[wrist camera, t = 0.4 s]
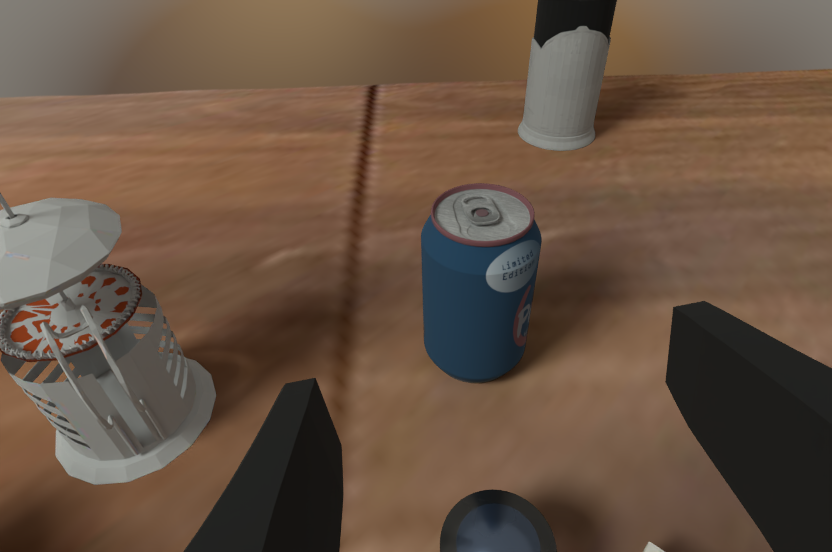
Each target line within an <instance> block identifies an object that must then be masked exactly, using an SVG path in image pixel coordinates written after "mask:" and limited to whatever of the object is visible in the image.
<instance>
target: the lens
mask: <svg viewBox="0 0 832 552" xmlns="http://www.w3.org/2000/svg"><path fill="white" fill-rule="evenodd" d="M440 552H557V549H556V543H555V539H554V536H553V533H552V530H551V528H550V526H549V524H548V523H547V521H546V520H545V518H544V517H543V515H542V514H541V513H540V512H539V511H538V510H537V509H536V508H535V507H534V506H533V505H532V504H531V503H529V502H528V501H527V500H525V499H523V498H522V497H520V496H518V495H515V494H513V493H510V492H507V491H502V490H484V491H479V492H476V493H473V494H471V495H468V496H466V497H465V498H463V499H462V500H460V501H459V502H458V503H457V504H456V505H455V506H454V507H453V508H452V510H451V511H450V512H449V514H448V515H447V517H446V519H445V522H444V524H443V527H442V531H441V537H440Z"/></svg>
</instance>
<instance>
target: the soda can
mask: <svg viewBox="0 0 832 552" xmlns="http://www.w3.org/2000/svg"><path fill="white" fill-rule="evenodd" d="M421 248H422V284H423V321H424V344H425V348H426V351H427V353H428V355H429V357H430V358H431V359H432V361H433V362H434V363H435V364H436V365H437V366H438V367H439V368H440V369H441V370H443V371H444V372H445V373H447V374H448V375H449V376H451V377H453V378H455V379H457V380H460V381H463V382H468V383H483V382H488V381H492V380H494V379H496V378H498V377H500V376H502V375H504V374H505V373H507V372H508V371H510V370H511V369H512V368H513V367H514V366H515V365H516V364H517V363H518V362H519V361H520V359H521V357H522V355H523V353H524V350H525V345H526V338H527V332H528V325H529V319H530V313H531V306H532V300H533V293H534V287H535V280H536V274H537V268H538V261H539V255H540V248H541V234H540V231H539V228H538V226H537V224H536V222H535V220H534V209H533V207H532V205H531V203H530V202H529V201H528V200H527V199H526V198H525V197H524V196H523V195H521V194H520V193H518V192H516V191H514V190H512V189H509V188H506V187H503V186H499V185H494V184H482V183H479V184H467V185H462V186H458V187H455V188H452V189H450V190H448V191H446V192H444V193H443V194H441V195H440V196H439V197H438V198H437V199H436V200H435V201H434V203H433V205H432V208H431V215H430V216H429V218H428V220H427V221H426V223H425V225H424V227H423V229H422V234H421Z"/></svg>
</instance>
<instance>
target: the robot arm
mask: <svg viewBox="0 0 832 552" xmlns="http://www.w3.org/2000/svg"><path fill="white" fill-rule="evenodd" d="M666 384H667V386H668V388H669V390H670V392H671V394H672V396H673V398H674V400H675V402H676V404H677V406H678V408H679V410H680V412H681V413H682V415H683V417H684V419H685V421H686V423H687V425H688V426H689V428H690V430H691V431H692V433H693V434H694V436H695V437H696V439H697V440H698V442H699V443H700V444H701V446H702V447H703V449H704V450H705V452H706V453H707V455H708V456H709V458H710V459H711V460H712V462H713V463H714V465H715V466H716V468H717V469H718V471H719V472H720V473H721V475H722V476H723V478H724V479H725V481H726V482H727V483H728V485H729V486H730V488H731V489H732V491H733V492H734V493H735V495H736V496H737V498H738V499H739V501H740V502H741V504H742V505H743V506H744V508H745V509H746V511H747V512H748V514H749V515H750V516H751V518H752V519H753V521H754V522H755V524H756V525H757V526H758V528H759V529H760V531H761V532H762V534H763V535H764V537H765V539H766V540H767V542H768V543H769V545H770V546H771V548H772V549H773V551H774V552H832V368H830V367H828V366H826V365H824V364H822V363H820V362H818V361H816V360H814V359H812V358H810V357H808V356H807V355H805V354H803V353H801V352H799V351H797V350H795V349H793V348H791V347H789V346H788V345H786V344H784V343H782V342H780V341H778V340H776V339H775V338H773V337H771V336H769V335H767V334H765V333H764V332H762V331H760V330H758V329H756V328H754V327H753V326H751V325H749V324H747V323H745V322H743V321H742V320H740V319H738V318H736V317H734V316H732V315H731V314H729V313H727V312H725V311H723V310H721V309H719V308H717V307H716V306H714V305H712V304H710V303H708V302H705V301H702V302H696V303H691V304H686V305H681V306H676V307H673V316H672V326H671V335H670V345H669V354H668V364H667V373H666ZM342 508H343V468H342V447H341V443H340V440H339V438H338V435H337V433H336V430H335V427H334V425H333V422H332V420H331V417H330V414H329V412H328V409H327V407H326V404H325V401H324V399H323V396H322V394H321V391H320V389H319V386H318V383H317V381H316V378H312V379H307V380H302V381H297V382H292V383H286V384H285V385H284V387H283V388H282V390H281V392H280V393H279V395H278V397H277V399H276V401H275V403H274V405H273V407H272V408H271V410H270V412H269V414H268V416H267V418H266V420H265V422H264V423H263V425H262V427H261V429H260V431H259V432H258V434H257V436H256V438H255V440H254V442H253V443H252V445H251V447H250V449H249V450H248V452H247V454H246V455H245V457H244V459H243V460H242V462H241V464H240V466H239V467H238V469H237V471H236V472H235V474H234V476H233V478H232V479H231V481H230V483H229V484H228V486H227V487H226V489H225V490H224V492H223V494H222V495H221V497H220V498H219V500H218V501H217V503H216V504H215V506H214V507H213V509H212V511H211V512H210V514H209V515H208V517H207V518H206V520H205V521H204V523H203V524H202V526H201V527H200V529H199V530H198V532H197V533H196V535H195V536H194V538H193V539H192V540H191V542H190V543H189V545H188V546H187V547H186V549H185V550H184V552H339V548H340V535H341V522H342Z"/></svg>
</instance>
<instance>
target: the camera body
mask: <svg viewBox="0 0 832 552" xmlns="http://www.w3.org/2000/svg"><path fill="white" fill-rule="evenodd" d="M643 552H665V551H663V550H662V549H660V548H658V547H657V546H655V545H654V544H652V543H651V542H648V544H647V545H646V547H645V549H644V550H643Z"/></svg>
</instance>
